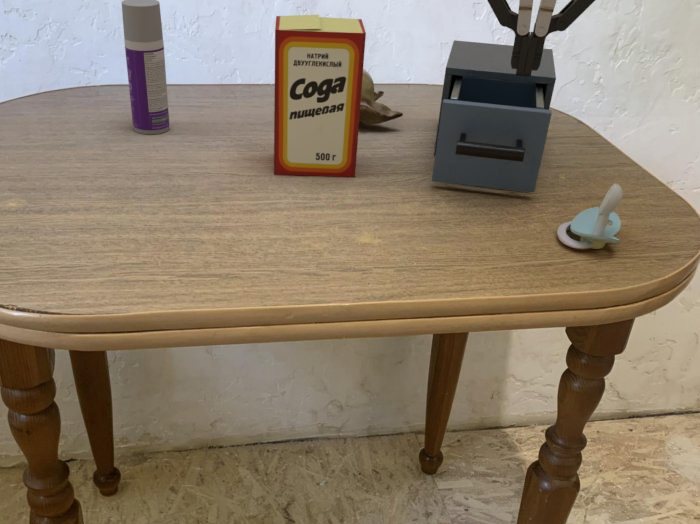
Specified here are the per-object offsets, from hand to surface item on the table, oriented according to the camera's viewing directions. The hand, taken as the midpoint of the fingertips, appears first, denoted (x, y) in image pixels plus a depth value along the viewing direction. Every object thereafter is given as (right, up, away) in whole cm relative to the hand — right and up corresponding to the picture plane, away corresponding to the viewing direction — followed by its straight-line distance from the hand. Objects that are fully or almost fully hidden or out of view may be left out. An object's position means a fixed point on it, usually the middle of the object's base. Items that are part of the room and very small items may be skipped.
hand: (523, 73), depth 77 cm
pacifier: (+7, -17, +2) cm, 18 cm away
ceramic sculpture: (-17, +5, +29) cm, 34 cm away
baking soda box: (-21, -5, +16) cm, 26 cm away
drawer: (-1, -6, +13) cm, 14 cm away
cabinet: (+2, +1, +24) cm, 24 cm away
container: (-42, +2, +24) cm, 48 cm away
